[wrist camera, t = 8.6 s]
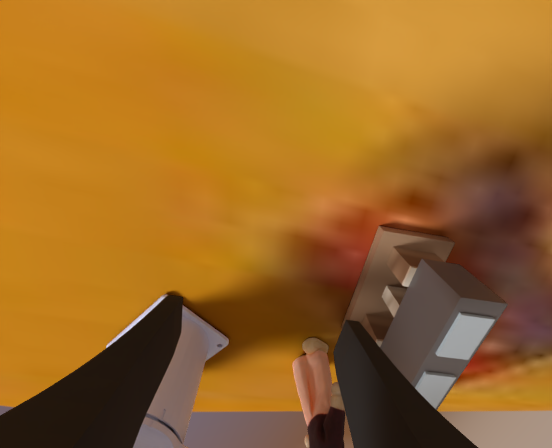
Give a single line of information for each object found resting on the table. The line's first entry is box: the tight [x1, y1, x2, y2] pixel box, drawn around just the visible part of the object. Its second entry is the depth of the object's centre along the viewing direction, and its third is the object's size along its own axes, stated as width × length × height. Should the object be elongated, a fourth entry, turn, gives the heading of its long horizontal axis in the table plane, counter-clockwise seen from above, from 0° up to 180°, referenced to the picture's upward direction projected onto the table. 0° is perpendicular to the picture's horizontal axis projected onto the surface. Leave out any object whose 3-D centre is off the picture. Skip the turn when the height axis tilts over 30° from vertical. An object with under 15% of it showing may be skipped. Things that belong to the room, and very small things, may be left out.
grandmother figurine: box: [293, 338, 345, 448], centre depth 21 cm, size 8×4×13 cm, turn 176°
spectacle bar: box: [380, 259, 508, 410], centre depth 18 cm, size 10×3×4 cm, turn 170°
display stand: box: [341, 226, 455, 347], centre depth 21 cm, size 11×6×4 cm, turn 170°
